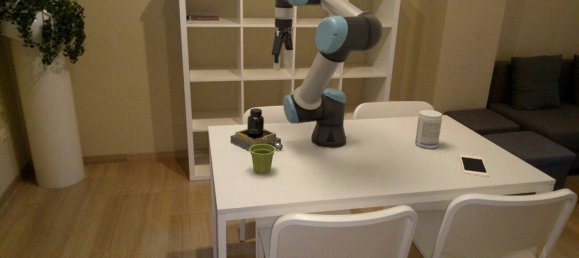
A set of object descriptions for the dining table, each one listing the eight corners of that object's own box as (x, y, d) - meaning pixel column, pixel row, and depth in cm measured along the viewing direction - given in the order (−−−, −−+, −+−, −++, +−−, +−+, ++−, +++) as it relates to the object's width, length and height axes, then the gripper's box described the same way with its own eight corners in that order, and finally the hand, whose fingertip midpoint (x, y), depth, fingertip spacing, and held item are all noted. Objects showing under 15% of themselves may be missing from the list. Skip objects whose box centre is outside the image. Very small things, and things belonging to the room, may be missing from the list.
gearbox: (287, 148, 180) (288, 137, 178) (262, 157, 170) (262, 145, 168) (255, 134, 193) (255, 124, 191) (230, 142, 183) (230, 131, 182)
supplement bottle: (251, 141, 177) (251, 113, 173) (244, 135, 183) (244, 108, 179) (266, 138, 181) (266, 111, 176) (259, 133, 186) (260, 106, 182)
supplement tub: (442, 146, 188) (447, 114, 183) (427, 151, 183) (432, 117, 178) (424, 139, 195) (429, 108, 190) (409, 143, 190) (414, 111, 185)
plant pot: (265, 178, 153) (265, 156, 150) (243, 171, 157) (243, 149, 154) (279, 169, 160) (280, 147, 157) (259, 163, 165) (259, 141, 162)
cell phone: (481, 159, 178) (482, 156, 177) (488, 177, 161) (489, 175, 161) (458, 156, 180) (459, 154, 179) (463, 174, 163) (463, 172, 163)
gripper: (285, 14, 196) (283, 61, 204) (264, 19, 174) (263, 72, 182) (301, 16, 194) (299, 63, 202) (282, 21, 172) (280, 74, 179)
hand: (282, 67), depth 192 cm, fingers open, 13 cm apart
